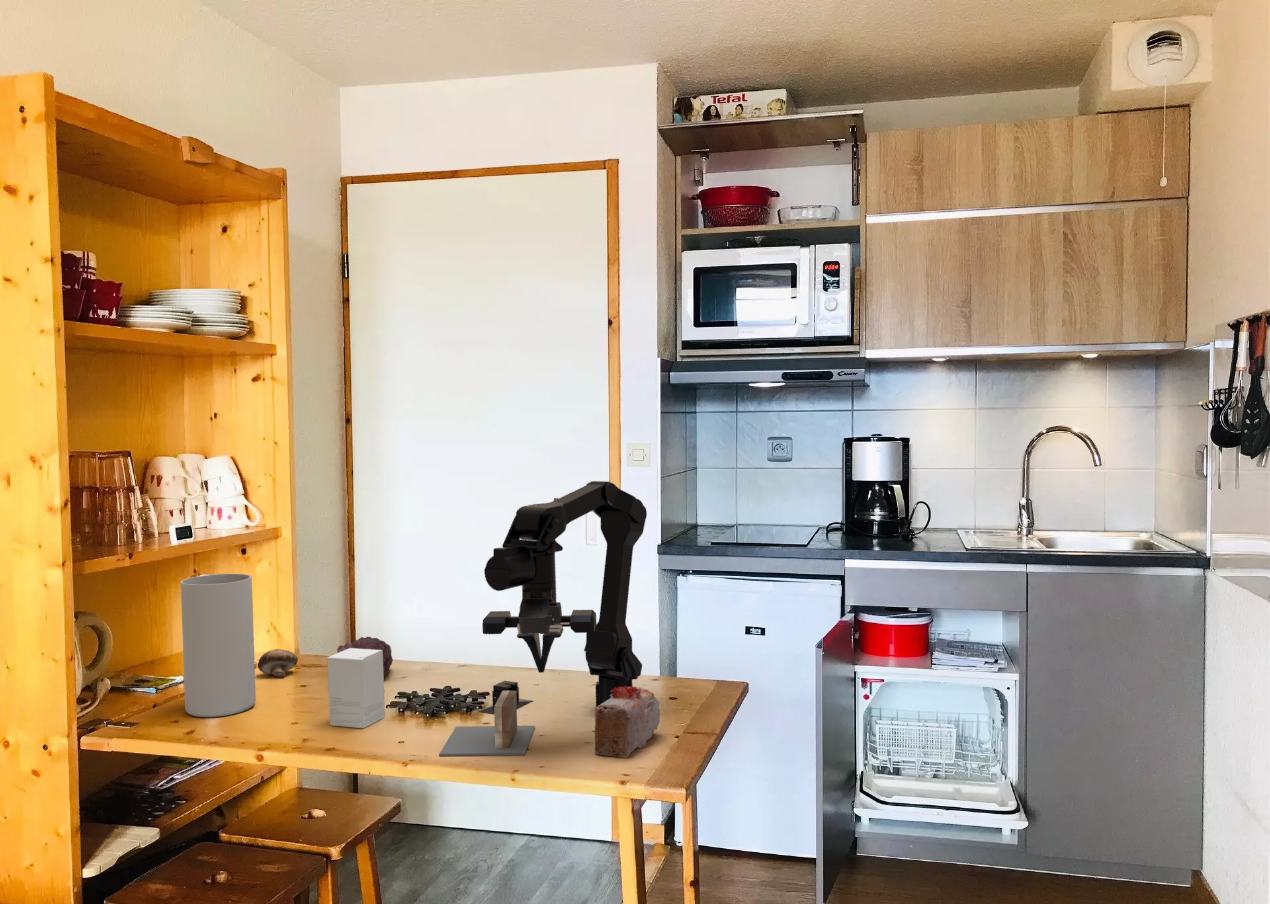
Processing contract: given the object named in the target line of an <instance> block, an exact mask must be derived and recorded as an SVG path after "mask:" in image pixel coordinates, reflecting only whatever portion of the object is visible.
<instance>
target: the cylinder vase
mask: <svg viewBox="0 0 1270 904" xmlns="http://www.w3.org/2000/svg"><path fill="white" fill-rule="evenodd" d="M252 577H253V576H252V575H249V574H246V573H220V574H219V573H218V574H207V575H200V576H199V575H198V576H192V577H189V578H184V579H182V580H181V581H180V604H181V626H182V627H181V628H182V629H181V630H182V653H183V681H184V684H183V686H184V710H185V712H186V713H187V714H189V715H190V716H192V717H197V718H198V717H199V718H218V717H226V716H227V717H228V716H231V715H236V714H239V713H243V712H244V711H247V710H249V709H251V708H252V707H253V706H254V705H255V704H256V701H257V699H256V698H257V696H256V695H257V694H256V692H257V689H256V665H255V663H256V661H255V639H254V638H255V636H254V634H255V633H254V610H253V609H254V606H253V582H252V581H253V579H252Z"/></svg>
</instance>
